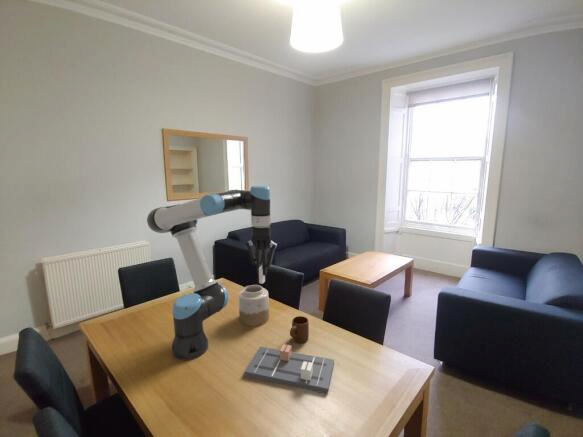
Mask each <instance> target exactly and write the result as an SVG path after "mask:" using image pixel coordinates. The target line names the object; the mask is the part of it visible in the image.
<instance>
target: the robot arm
mask: <svg viewBox="0 0 583 437" xmlns="http://www.w3.org/2000/svg"><path fill="white" fill-rule="evenodd" d="M249 189H250V190H241V189H240V190H239V189H229V190H228V191H224V192H212V193H209V194H205V195H203V196H201V197H199V198H196V199H192V200H190V201H187V202H184V203H178V204H174V205H168V206H160V207H157V208H154V209H152V210H151V211H150V212H149V214H148V215H147V217H146V224H147V225H148V228H149V229H151V231H152V232H154V233H158V234H165V233H170V234H171V237H173V238H175V239H176V240H177V242H178V244H179V247H180V251H181V253H182V256H183V258H184V260H185V264H186V267H187V269H188V271H189V274H190V276H191V277H190V278H191V279H192V283H193V284H194V288H193V290H192V292H191V293H188V294H184V295H181V296H179V297H178V298H176V299H175V301H174V302H173V304H172V317H173V330H174V338H173V341H172V344H171V354H172V357H173V358H174V359H176V360H181V361H182V360H183V361H187V360H193V359H195V358H197V357H198V358H199V357H200V356H202V355H203V354H205V353H206V351H207V350H208V348H209V339H208V338H207V336H206V333H205V331H204V324H203V322H204V321H205V320H207V319H208V318H210V317H212V316H213V315H215V314H217V313H219V312H221V311H222V310H223V309H224V308H226V306H227V305H228V302H229V293H228V290H227V288H226V287H225V286H224V285H222V284H220V283H219V282H218V280H216V279H214V278H213V276H212V273H211V271H210V267H209V265H208V263H207V260H206V257H205V255H204V252H203V250H202V247H201V244H200V242H199V239H198V237H197V233H196V230H197V224H198V222H199V220H200V219H203V218H208V217H212V216H216V215H219V214H224V213H228V212H232V211H238V210H248V211H250V218H251V219H250V221H251V228H250V229H251V238H250V240H248V241H246V242H245V246H246V248H247V250H248V254H249V256H250V262H251V265H252V266H255V267H256V274H257V275H258V283H259V284H264V283H265V282H266V275H267V274H268V268H270V266H272V263H273V258H274V254H275V252H276V251H275V250H276V248H277V247H278V243H277V242H274V241H273V240H272V236H271V235H272V234H271V233H272V232H271V230H272V229H271V226H270V225H271V199H272V198H271V191H270V190H271V189H270V187H269V186H267V185H253V186H250V188H249ZM269 246H270V249H269V253H268V247H269ZM254 248H255V249H254Z"/></svg>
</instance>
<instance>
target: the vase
mask: <svg viewBox="0 0 583 437" xmlns="http://www.w3.org/2000/svg"><path fill="white" fill-rule="evenodd" d="M269 300H270V299H269V291H268V290H267V289H266V288H264V287H263V286H261V285H259V284H252V285H246V286H245V287H244V288H243V289H241V290H240V291H239V292H238V313H239V317H238V318H239V322H240V323H241V324H242V325H244V326H247V327H258V326H261V325H264V324H265V323H267V322H268V321H269V320H270V318H269V317H270V308H269V306H270V304H269V303H270V301H269Z"/></svg>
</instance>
